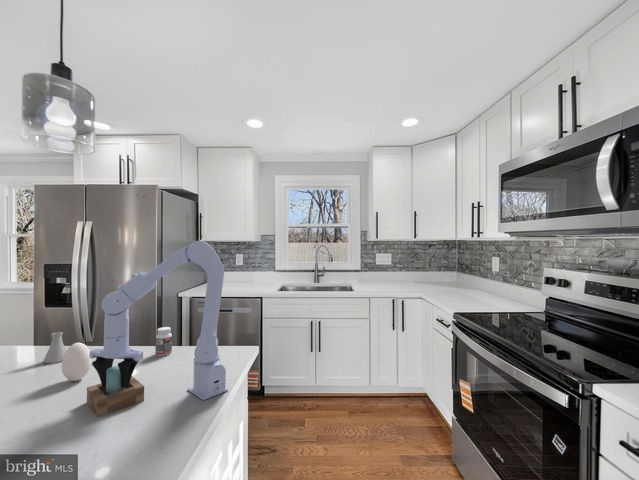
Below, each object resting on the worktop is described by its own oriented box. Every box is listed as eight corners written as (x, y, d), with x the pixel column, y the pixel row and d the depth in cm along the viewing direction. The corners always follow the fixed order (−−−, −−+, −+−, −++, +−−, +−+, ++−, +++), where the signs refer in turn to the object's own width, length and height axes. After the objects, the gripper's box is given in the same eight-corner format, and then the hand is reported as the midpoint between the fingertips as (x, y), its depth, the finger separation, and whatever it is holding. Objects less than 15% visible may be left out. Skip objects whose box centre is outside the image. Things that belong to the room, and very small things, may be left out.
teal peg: (127, 401, 84) (128, 368, 84) (108, 407, 81) (109, 373, 81) (122, 396, 87) (122, 364, 87) (103, 402, 84) (104, 368, 84)
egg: (69, 376, 99) (69, 340, 99) (95, 374, 101) (96, 338, 101) (55, 387, 92) (56, 347, 92) (84, 384, 94) (85, 345, 94)
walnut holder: (144, 400, 84) (144, 386, 84) (97, 416, 76) (97, 400, 76) (130, 388, 91) (130, 375, 91) (86, 402, 83) (87, 387, 83)
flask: (38, 362, 111) (38, 335, 111) (60, 356, 117) (60, 329, 118) (52, 365, 108) (52, 336, 109) (74, 358, 115) (74, 331, 116)
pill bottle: (167, 356, 117) (167, 330, 118) (152, 356, 118) (152, 330, 118) (174, 351, 123) (174, 326, 123) (160, 351, 123) (160, 326, 123)
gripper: (150, 332, 87) (150, 380, 87) (104, 330, 89) (103, 377, 89) (132, 339, 80) (132, 392, 80) (83, 337, 82) (82, 388, 82)
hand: (115, 385), depth 84 cm, fingers open, 5 cm apart
